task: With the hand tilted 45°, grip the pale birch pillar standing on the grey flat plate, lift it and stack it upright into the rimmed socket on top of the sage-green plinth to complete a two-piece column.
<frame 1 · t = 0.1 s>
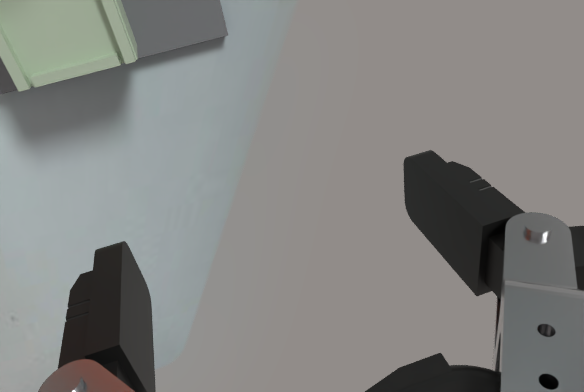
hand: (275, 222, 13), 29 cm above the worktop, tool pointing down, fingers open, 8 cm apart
green plinth: (61, 3, 34), resting on grey flat plate
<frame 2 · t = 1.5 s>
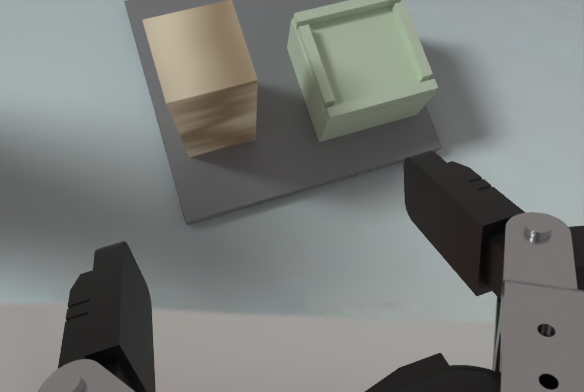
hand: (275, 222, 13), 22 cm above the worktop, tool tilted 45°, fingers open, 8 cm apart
birch pillar: (213, 117, 35), point 1 cm above the worktop, touching grey flat plate
grey flat plate: (281, 79, 37), on the worktop
green plinth: (351, 81, 37), resting on grey flat plate
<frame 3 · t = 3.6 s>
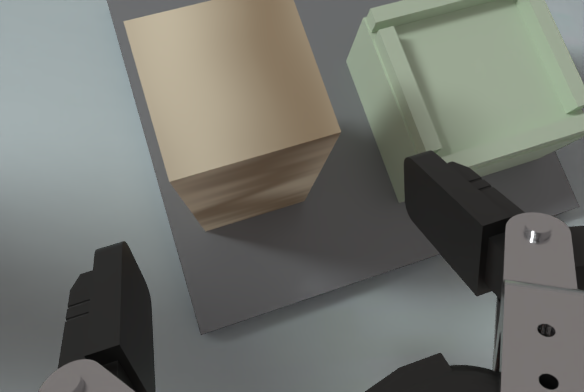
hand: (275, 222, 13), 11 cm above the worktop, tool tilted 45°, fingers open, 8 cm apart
birch pillar: (240, 168, 23), point 1 cm above the worktop, touching grey flat plate
grey flat plate: (337, 107, 26), on the worktop
green plinth: (442, 109, 25), resting on grey flat plate
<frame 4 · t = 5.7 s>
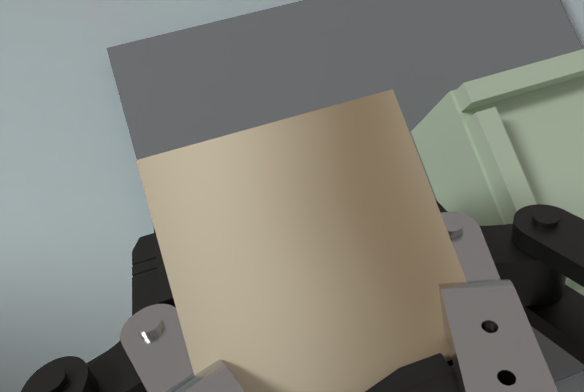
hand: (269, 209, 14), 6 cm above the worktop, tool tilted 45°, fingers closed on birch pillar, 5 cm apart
birch pillar: (280, 276, 18), point 1 cm above the worktop, touching grey flat plate, gripper
grey flat plate: (398, 188, 20), on the worktop
green plinth: (532, 194, 20), resting on grey flat plate
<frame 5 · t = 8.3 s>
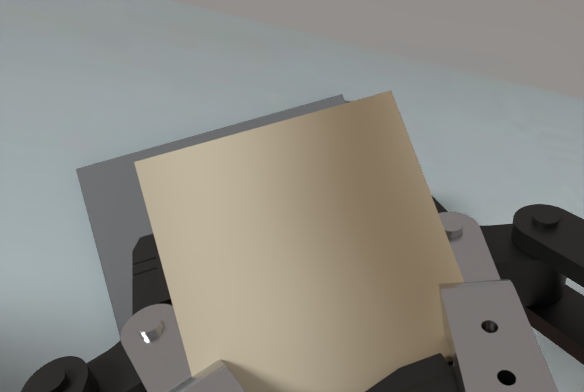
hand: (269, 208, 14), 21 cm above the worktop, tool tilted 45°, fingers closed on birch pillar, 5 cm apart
birch pillar: (279, 276, 18), point 16 cm above the worktop, touching gripper
grey flat plate: (252, 248, 34), on the worktop
when the fingers open (11 cm above the worktop, at t = 11.2 s): birch pillar drops 1 cm, resting on green plinth.
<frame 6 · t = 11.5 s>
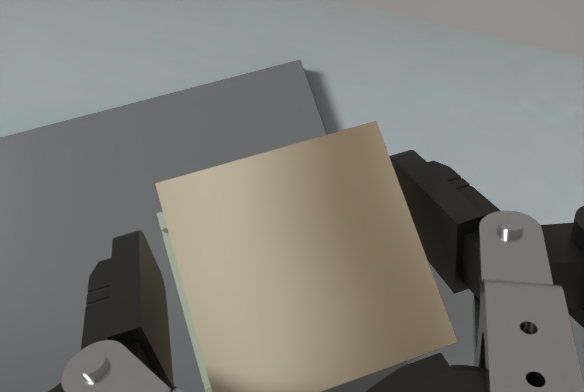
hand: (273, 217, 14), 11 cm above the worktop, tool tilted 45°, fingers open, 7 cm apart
birch pillar: (279, 279, 20), point 5 cm above the worktop, touching green plinth
grey flat plate: (167, 274, 24), on the worktop
green plinth: (273, 281, 23), resting on grey flat plate
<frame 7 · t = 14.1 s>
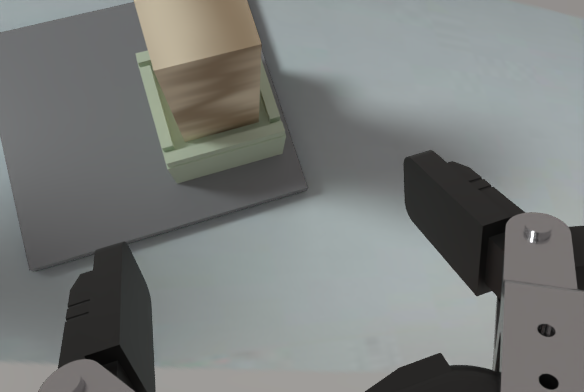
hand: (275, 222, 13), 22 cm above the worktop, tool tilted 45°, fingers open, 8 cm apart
birch pillar: (211, 97, 32), point 5 cm above the worktop, touching green plinth
grey flat plate: (145, 117, 36), on the worktop
green plinth: (215, 118, 35), resting on grey flat plate
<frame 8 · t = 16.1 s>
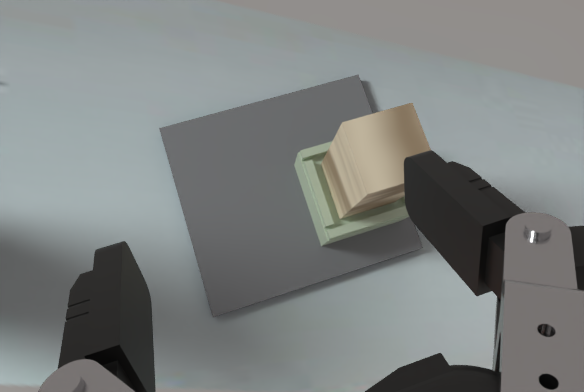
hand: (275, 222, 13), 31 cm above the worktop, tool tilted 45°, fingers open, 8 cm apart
birch pillar: (357, 183, 41), point 5 cm above the worktop, touching green plinth
grey flat plate: (289, 190, 45), on the worktop
green plinth: (347, 192, 44), resting on grey flat plate
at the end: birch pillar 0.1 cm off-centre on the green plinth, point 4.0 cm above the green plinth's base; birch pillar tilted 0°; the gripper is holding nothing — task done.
